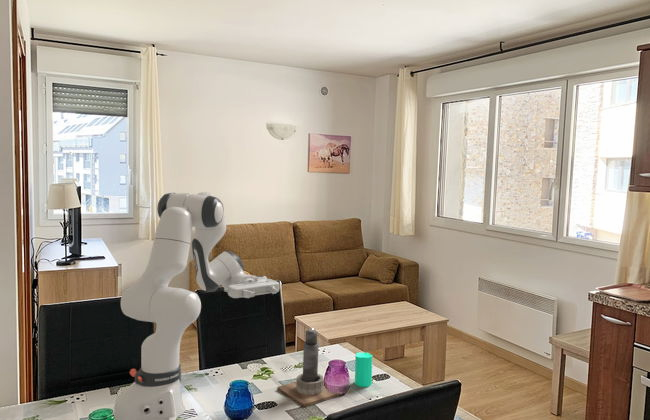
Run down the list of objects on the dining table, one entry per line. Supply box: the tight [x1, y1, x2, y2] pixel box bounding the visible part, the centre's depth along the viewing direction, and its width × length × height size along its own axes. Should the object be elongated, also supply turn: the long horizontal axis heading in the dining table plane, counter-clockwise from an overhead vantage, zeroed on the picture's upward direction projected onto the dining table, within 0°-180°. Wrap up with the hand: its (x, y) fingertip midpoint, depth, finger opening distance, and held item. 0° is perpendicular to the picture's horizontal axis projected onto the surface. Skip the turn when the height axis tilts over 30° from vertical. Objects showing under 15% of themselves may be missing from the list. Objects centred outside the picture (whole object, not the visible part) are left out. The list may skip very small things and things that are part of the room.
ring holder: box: [276, 373, 340, 408], centre depth 171 cm, size 16×16×5 cm
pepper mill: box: [302, 327, 319, 382], centre depth 170 cm, size 5×5×21 cm
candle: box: [354, 351, 373, 388], centre depth 179 cm, size 6×6×12 cm
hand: (264, 293), depth 185 cm, fingers open, 8 cm apart
